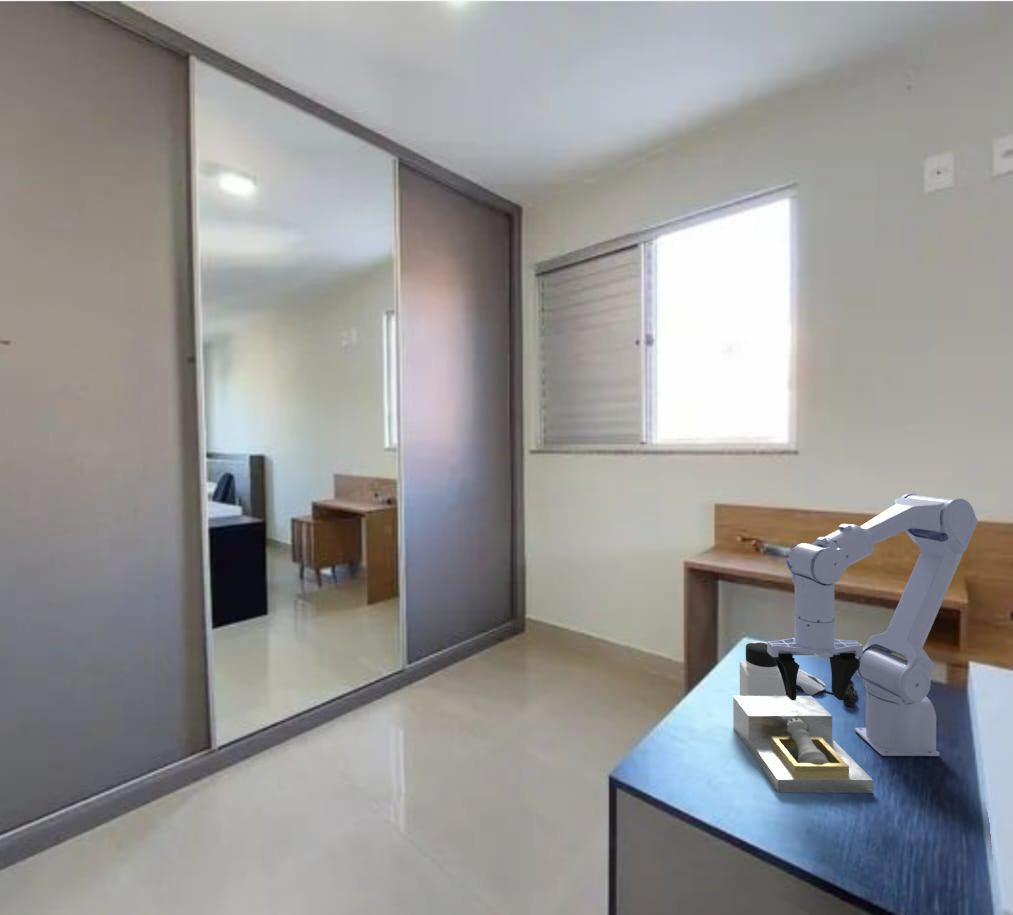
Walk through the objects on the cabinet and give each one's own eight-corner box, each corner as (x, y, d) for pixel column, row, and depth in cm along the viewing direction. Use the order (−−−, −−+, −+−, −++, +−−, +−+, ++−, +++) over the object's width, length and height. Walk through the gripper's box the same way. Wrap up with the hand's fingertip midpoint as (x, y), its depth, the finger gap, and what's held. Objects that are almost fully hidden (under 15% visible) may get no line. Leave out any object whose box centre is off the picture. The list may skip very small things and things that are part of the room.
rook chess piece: (825, 757, 82) (802, 710, 89) (796, 766, 84) (776, 719, 91) (835, 772, 84) (812, 725, 91) (807, 781, 85) (786, 734, 92)
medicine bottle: (787, 714, 104) (786, 653, 104) (747, 711, 106) (747, 651, 105) (776, 696, 111) (776, 639, 111) (739, 693, 113) (739, 637, 112)
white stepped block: (810, 727, 99) (810, 695, 99) (872, 792, 81) (873, 754, 81) (733, 727, 100) (733, 696, 100) (777, 792, 82) (777, 753, 82)
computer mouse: (764, 671, 124) (764, 654, 124) (859, 692, 113) (859, 673, 113) (754, 688, 116) (754, 669, 116) (855, 712, 105) (855, 692, 105)
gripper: (780, 626, 86) (780, 709, 86) (874, 625, 85) (874, 709, 86) (761, 611, 93) (762, 688, 93) (848, 610, 92) (848, 688, 93)
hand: (814, 697), depth 90 cm, fingers open, 7 cm apart
